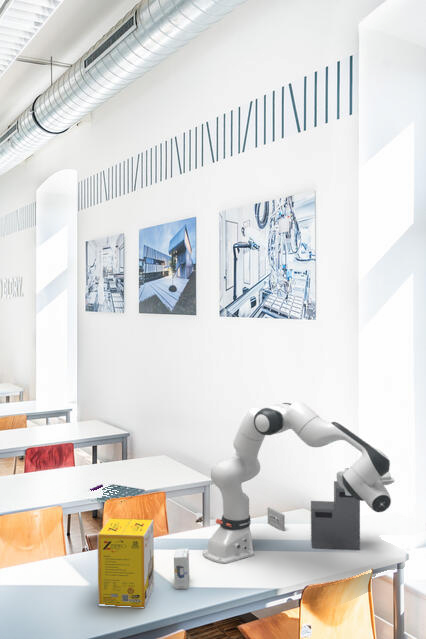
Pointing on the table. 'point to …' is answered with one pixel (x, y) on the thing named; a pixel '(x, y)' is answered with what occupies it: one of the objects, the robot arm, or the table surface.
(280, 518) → the cassette
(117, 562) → the packaging box
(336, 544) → the rack
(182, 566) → the ink box
